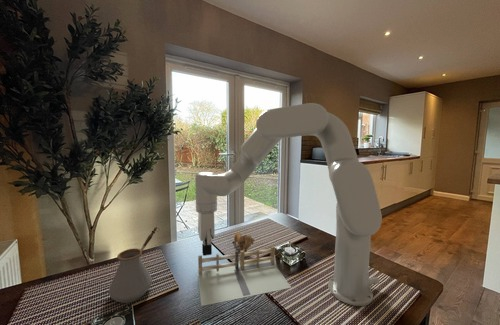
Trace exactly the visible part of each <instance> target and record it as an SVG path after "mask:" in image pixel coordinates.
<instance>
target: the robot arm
mask: <svg viewBox="0 0 500 325" xmlns="http://www.w3.org/2000/svg"><path fill="white" fill-rule="evenodd" d="M304 136H314V137H316V138H317V139H318V140H319V142H320V144H321V147H322V151H323V153H324V156H325V161H326V166H327V169H328V177H329V180H330V182H331V185H332V189H333V191H334V192H333V193H334V195H335V199H336V209H335V210H336V211H335V212H336V213H335V215H336V216H335V218H336V224H335V226H336V227H335V232H336V233H335V246H334V265H333V266H334V267H333V268H334V269H333V276H332V277H331V278H330V279H329V280H328V284H327V288H328V289H329V292H330V293H331V294H332V295H333V296H334V298H336V299H337V300H339V301H340V302H343V303H344V304H348V305H350V306H356V307H363V306H367V305H370V304H371V303H372V302H373V298H374V297H373V296H374V294H373V291H372V290H371V287H372V286H373V285H378V284H379V283H380V279H379V278H378V277H377V276H373V277H370V275H369V268H370V255H371V243H372V242H371V241H372V239H371V238H372V235H373V236H374V235H375V234H376V233H377V232H378V231H379V229H380V228H381V226H382V223H383V222H382V220H383V216H382V210H381V206H380V202H379V198H378V194H377V190H376V187H375V183H374V179H373V177H372V175H371V172H370V170H369V169H368V167H367V166H366V165H365V164H364V163H363V162H361V161H360V160H359V158H358V154H357V151H356V147H355V145H354V143H353V142H354V141H353V137H352V135H351V133H350V131H349V128H348V126H347V125H346V123H345V122H344V121H343V120H341V118H339V117H338V116H336V115H335V114H333V113H331V112H328V111H327V109H326V107H324V106H322V105H321V104H319V103H315V102H309V103H308V102H307V103H300V104H294V105H289V106H284V107H283V106H282V107H276V108H270V109H267V110H264V111H262V112H261V113H260V114H259V116H258V117H257V119H256V124H255V129H254V130H253V131H252V133H251V134H250V135H249V136H248V137H247V139H246V140H244V142H243V143H242V144H241V145H240V146H241V147H240V152H239V153H240V154H239V156H238V158H237V159H236V161H235V162H234V163H233V165H232V166H231V167H230V168H229V169H228V170H227V171H226V172H222V173H219V174H216V173H215V172H212V171H202V172H198V173H196V175H195V179H194V180H195V182H194V183H195V212H197V213H198V214H197V216H198V218H197V223H198V224H197V232H198V238H199V241H200V242H202V243H201V244H202V253H201V254H202V257H205V256H206V257H207V256H211V255H212V253H213V250H212V249H213V248H212V247H213V246H212V245H213V244H212V240H214V239H215V228H216V226H215V212H217V211H218V196H220V197H226V196H229V195H231V194H232V193H234V192H236V191H237V190H238V189H239V188H240V187H241V186H242V185H243V184H244V183H245V182H246V181H247V180H248V179H249V177H251V175H252V173H253V172H255V170H256V169H257V168H258V167H259V166H260V164H261V163H262V162H263V161H264V159H266V157H267V156H268V155H269V153H270V152H272V150H273V149H274V148H275V147H276V146H277V144H279V143H280V141H281V140H282V139H287V138H288V139H289V138H295V137H304Z"/></svg>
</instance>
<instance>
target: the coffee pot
mask: <svg viewBox="0 0 500 325" xmlns="http://www.w3.org/2000/svg"><path fill="white" fill-rule="evenodd" d="M157 229H158V232H160V231H161V230H160V228H159V227H157V226H155V227H154V228H153V230H152V231H151V232H150V234H149V235H148V236H147V238H146V239H145V241H144V243H143V244H142V247H141V248H135V247H134V248H128V249H125V250H123V251H121V252H119V253H118V254H117V256H116V258H117V259H118V260H119V264H118V267H117V270H116V271H115V274H114V276H113V278H112V281H111V284H110V286H109V289H108V294H109V295H108V296H109V297H110V298H111V299H112V300H113V301H115V302H118V303H122V304H128V303H133V302H135V301H137V300H139V299H140V298H143V296H144V295H145V294H146V293H147V292H148V291H149V290H150V288H151V286H152V282H153V279H152V276H151V274H150V273H149V271H148V269H147V267H146V266H145V264H144V263H143V261H142V259H141V256H142V253H143V251H144V249H145V248H146V247H147V245H148V244H149V242H150V241H151V239H152V238H153V236H154V235H155V234H156V232H157Z"/></svg>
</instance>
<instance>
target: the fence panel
mask: <svg viewBox="0 0 500 325" xmlns="http://www.w3.org/2000/svg"><path fill="white" fill-rule="evenodd" d="M197 259H198V260H197V261H198V265H197V266H198V269H197V273H198V272H199V275H202V271H206V270H212V269H217V271H219V268H224V267H231V266H235V269H238V268H239V263H240V250H235V251H234V253H233V254H225V255H220V254H219V253H216V256H211V257H204V258H203V254H202V255H198V256H197ZM228 259H234V261H232V262H225V263H219V262H220V261H222V260H228ZM210 262H215V264H212V265H205V266H203V263H210Z"/></svg>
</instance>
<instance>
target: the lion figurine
mask: <svg viewBox="0 0 500 325" xmlns="http://www.w3.org/2000/svg"><path fill="white" fill-rule="evenodd" d="M251 236H252V235H250V234H245V235H242V233H241V232H236V233H235V235H234V241H232V242H231V243H232V244H233V248H234V249H237V245H238V246H239V252H240V251H242V250H244V253H245V252H248V251H247V250H248V249H249V248H250V247H251V246H252V245H253V244H254V243H255V241H256V240H255V238H253V237H251Z"/></svg>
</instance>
